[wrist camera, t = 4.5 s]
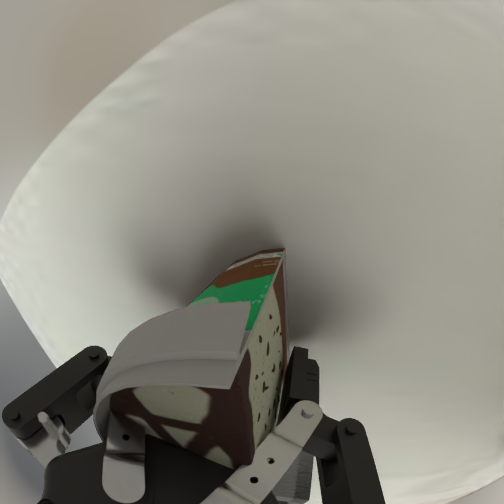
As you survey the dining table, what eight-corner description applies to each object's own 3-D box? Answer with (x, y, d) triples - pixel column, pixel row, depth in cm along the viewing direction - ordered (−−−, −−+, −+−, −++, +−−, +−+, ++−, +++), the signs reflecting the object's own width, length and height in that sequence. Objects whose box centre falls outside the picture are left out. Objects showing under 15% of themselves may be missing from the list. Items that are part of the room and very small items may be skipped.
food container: (168, 224, 15) (19, 319, 5) (283, 218, 13) (225, 363, 4) (206, 388, 19) (153, 500, 9) (289, 396, 17) (265, 526, 8)
